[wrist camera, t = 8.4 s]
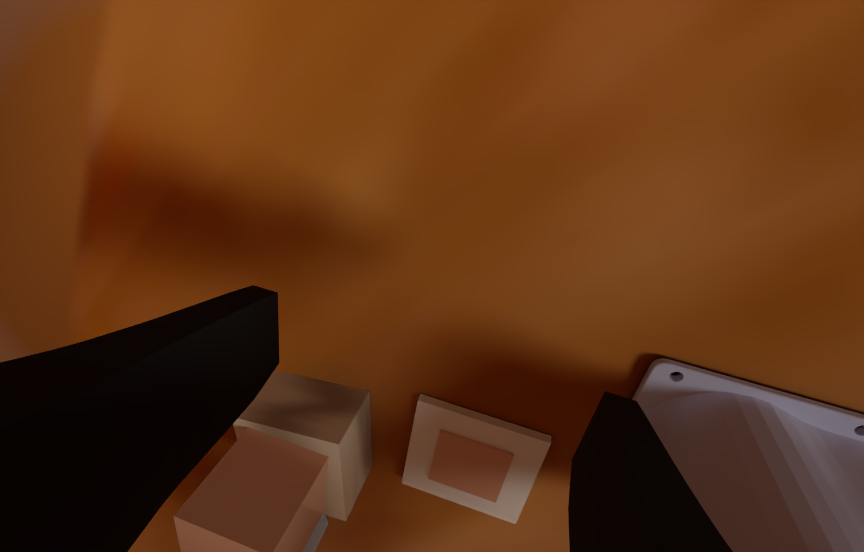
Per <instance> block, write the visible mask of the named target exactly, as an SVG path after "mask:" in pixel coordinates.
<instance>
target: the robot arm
mask: <svg viewBox="0 0 864 552" xmlns="http://www.w3.org/2000/svg"><path fill="white" fill-rule="evenodd" d="M278 364H279V330H278V293H277V292H274V291H270V290H267V289H264V288H260V287H257V286H254V285H253V286H250V287H246V288H243V289H239V290H236V291H233V292H230V293H227V294H224V295H221V296H218V297H216V298H213V299H210V300H207V301H204V302H201V303H199V304H196V305H193V306H190V307H187V308H184V309H182V310H179V311H176V312H173V313H170V314H167V315H164V316H162V317H159V318H156V319H153V320H150V321H147V322H144V323H141V324H137V325H134V326H131V327H128V328H125V329H122V330H118V331H115V332H112V333H109V334H106V335H103V336H99V337H96V338H93V339H90V340H87V341H83V342H80V343H76V344H73V345H69V346H65V347H61V348H58V349H54V350H51V351H46V352H42V353H38V354H34V355H30V356H26V357H22V358H18V359H14V360H9V361H5V362H1V363H0V552H127V551H128V550H129V549H130V547H131V546H132V545H133V543H134V542H135V541H136V539H137V538H138V537H139V535H140V534H141V533H142V531H143V530H144V529H145V527H146V526H147V525H148V523H149V522H150V520H151V519H152V518H153V516H154V515H155V514H156V512H157V511H158V510H159V508H160V507H161V506H162V504H163V503H164V502H165V501H166V499H167V498H168V497H169V496H170V495H171V493H172V492H173V491H174V490H175V489H176V487H177V486H178V485H179V484H180V483H181V481H182V480H183V479H184V478H185V477H186V476H187V475H188V474H189V473H190V471H191V470H192V469H193V468H194V467H195V466H196V465H197V464H198V462H199V461H200V460H201V459H202V458H203V457H204V456H205V455H206V454H207V452H208V451H209V450H210V449H211V448H212V447H213V446H214V445H215V443H216V442H217V441H218V440H219V439H220V438H221V437H222V436H223V435H224V433H225V432H226V431H227V430H228V429H229V428H230V427H231V426H232V424H233V423H234V422H235V421H236V420H237V419H238V418H239V416H240V415H241V414H242V413H243V412H244V411H245V410H246V408H247V407H248V406H249V405H250V404H251V403H252V401H253V400H254V399H255V398H256V396H257V395H258V393H259V392H260V390H261V389H262V388H263V386H264V385H265V383H266V382H267V380H268V379H269V377H270V376H271V374H272V373H273V371H274V370H275V368H276V367H277V365H278ZM673 372H680V374H679V375H676V376H672V375H670V374H671V373H673ZM862 425H864V415H863V414H860V413H856V412H853V411H849V410H846V409H842V408H838V407H835V406H831V405H828V404H824V403H821V402H817V401H814V400H810V399H807V398H803V397H800V396H796V395H793V394H789V393H786V392H782V391H779V390H775V389H772V388H768V387H764V386H761V385H757V384H754V383H750V382H747V381H743V380H740V379H736V378H733V377H729V376H726V375H722V374H719V373H715V372H712V371H708V370H705V369H701V368H698V367H694V366H690V365H687V364H683V363H680V362H676V361H673V360H669V359H664V358H661V359H657V360H655V361H653V362H652V363H651V364H650V366H649V368H648V370H647V372H646V374H645V376H644V377H643V379H642V381H641V383H640V385H639V387H638V389H637V391H636V392H635V394H634V396H633V398H632V399H629V398H625V397H622V396H619V395H615V394H612V393H609V392H605V393H604V395H603V397H602V399H601V401H600V403H599V405H598V407H597V409H596V411H595V413H594V415H593V417H592V419H591V421H590V423H589V426H588V428H587V430H586V432H585V434H584V436H583V438H582V440H581V442H580V444H579V446H578V448H577V450H576V452H575V454H574V456H573V458H572V468H571V479H570V492H569V507H568V512H569V541H570V552H864V426H862ZM858 426H862V427H860V428H856V427H858Z"/></svg>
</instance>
